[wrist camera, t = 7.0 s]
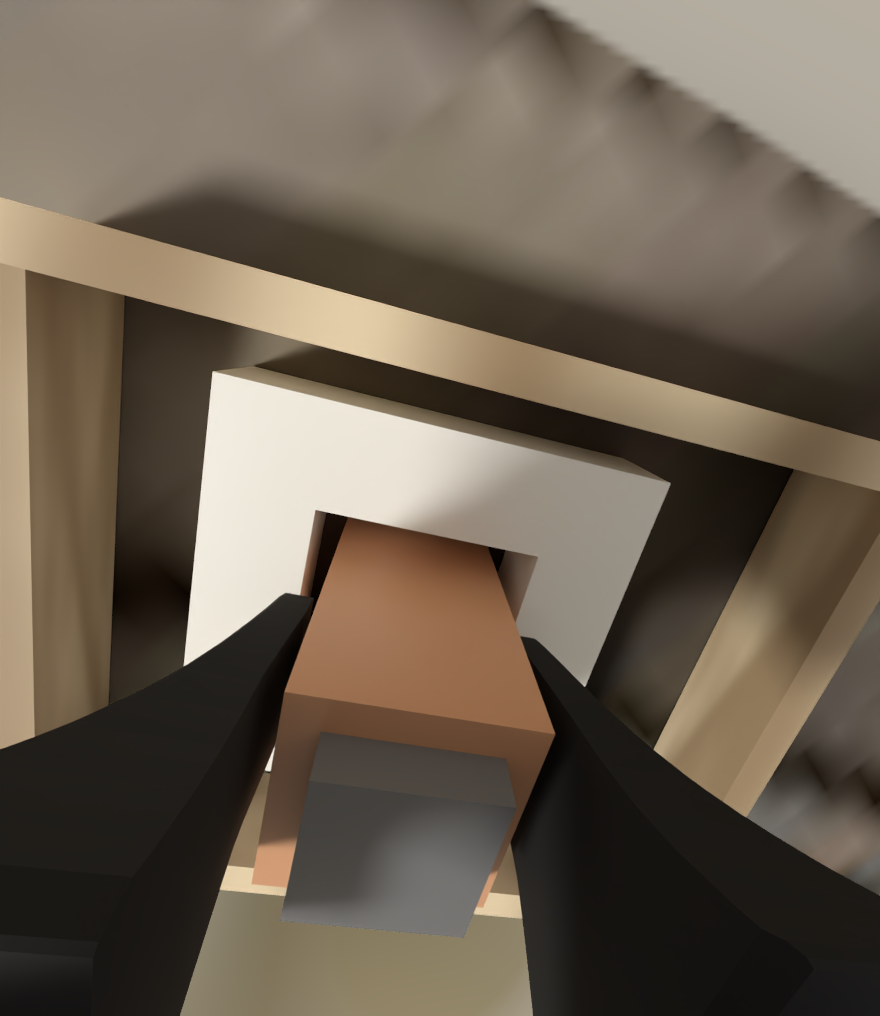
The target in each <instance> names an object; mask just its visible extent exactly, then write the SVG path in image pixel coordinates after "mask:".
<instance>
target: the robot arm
mask: <svg viewBox="0 0 880 1016" xmlns="http://www.w3.org/2000/svg"><path fill="white" fill-rule="evenodd" d="M313 600H314V598H312V597H307V596H301V595H296V594H291V593H284V594H283V595H281V596H279V597H278V598H277V599H276V600H275V601H274V602H272V603H271V604H270V605H269V606H268V607H266V608H265V609H264V610H263V611H262V612H260V613H259V614H258V615H257V616H255V617H254V618H253V619H252V620H250V621H249V622H248V623H246V624H245V625H244V626H242V627H241V628H240V629H238V630H237V631H236V632H234V633H233V634H232V635H230V636H229V637H228V638H226V639H225V640H223V641H222V642H221V643H219V644H218V645H216V646H215V647H213V648H211V649H210V650H208V651H207V652H205V653H204V654H202V655H201V656H199V657H198V658H196V659H195V660H193V661H192V662H190V663H189V664H187V665H185V666H184V667H182V668H180V669H179V670H177V671H175V672H174V673H172V674H170V675H168V676H167V677H165V678H163V679H161V680H159V681H158V682H156V683H154V684H152V685H150V686H148V687H147V688H145V689H143V690H141V691H139V692H137V693H135V694H133V695H131V696H128V697H126V698H124V699H122V700H120V701H117V702H115V703H113V704H111V705H109V706H106V707H104V708H102V709H100V710H98V711H95V712H93V713H91V714H89V715H87V716H84V717H82V718H80V719H78V720H75V721H73V722H71V723H68V724H66V725H63V726H61V727H58V728H56V729H53V730H51V731H48V732H45V733H43V734H40V735H38V736H35V737H33V738H30V739H27V740H24V741H22V742H19V743H16V744H14V745H11V746H8V747H5V748H3V749H0V1016H180V1013H181V1009H182V1007H183V1004H184V1000H185V997H186V994H187V991H188V988H189V984H190V981H191V978H192V975H193V971H194V968H195V965H196V962H197V959H198V956H199V953H200V950H201V947H202V943H203V940H204V937H205V934H206V931H207V928H208V925H209V921H210V918H211V915H212V912H213V909H214V906H215V903H216V899H217V896H218V893H219V890H220V887H221V884H222V881H223V878H224V875H225V872H226V869H227V866H228V863H229V859H230V856H231V853H232V850H233V847H234V845H235V842H236V839H237V837H238V834H239V831H240V829H241V826H242V823H243V821H244V818H245V816H246V814H247V811H248V809H249V806H250V804H251V802H252V799H253V797H254V795H255V792H256V790H257V787H258V785H259V783H260V780H261V778H262V775H263V773H264V771H265V768H266V766H267V764H268V761H269V759H270V756H271V754H272V752H273V749H274V747H275V744H276V738H277V732H278V726H279V720H280V714H281V709H282V703H283V697H284V692H285V689H286V686H287V683H288V681H289V678H290V675H291V672H292V670H293V667H294V664H295V661H296V659H297V656H298V653H299V650H300V648H301V645H302V642H303V639H304V637H305V634H306V631H307V628H308V626H309V621H310V616H311V610H312V605H313ZM520 638H521V640H522V643H523V646H524V649H525V651H526V654H527V657H528V660H529V663H530V665H531V668H532V671H533V674H534V676H535V679H536V682H537V685H538V687H539V690H540V693H541V696H542V699H543V701H544V704H545V707H546V710H547V712H548V715H549V718H550V721H551V723H552V726H553V729H554V732H555V736H554V739H553V741H552V743H551V746H550V748H549V751H548V753H547V755H546V758H545V760H544V763H543V765H542V767H541V770H540V772H539V775H538V777H537V779H536V782H535V784H534V787H533V789H532V791H531V794H530V796H529V799H528V801H527V803H526V806H525V808H524V811H523V813H522V815H521V818H520V820H519V823H518V825H517V827H516V830H515V832H514V835H513V837H512V839H511V842H510V844H511V849H512V853H513V858H514V864H515V869H516V875H517V881H518V889H519V896H520V904H521V912H522V919H523V927H524V935H525V944H526V953H527V962H528V971H529V980H530V990H531V999H532V1008H533V1016H880V896H879V895H877V894H875V893H874V892H872V891H870V890H868V889H866V888H864V887H863V886H861V885H859V884H857V883H855V882H853V881H851V880H850V879H848V878H846V877H844V876H842V875H840V874H839V873H837V872H835V871H833V870H831V869H829V868H828V867H826V866H824V865H822V864H821V863H819V862H817V861H815V860H814V859H812V858H810V857H809V856H807V855H806V854H804V853H802V852H801V851H799V850H797V849H796V848H794V847H792V846H791V845H789V844H787V843H786V842H784V841H782V840H781V839H779V838H777V837H776V836H774V835H772V834H771V833H769V832H768V831H766V830H765V829H763V828H762V827H760V826H758V825H757V824H755V823H754V822H752V821H751V820H749V819H748V818H746V817H744V816H743V815H741V814H740V813H739V812H737V811H736V810H734V809H733V808H731V807H730V806H728V805H727V804H726V803H724V802H723V801H721V800H720V799H718V798H717V797H715V796H714V795H712V794H711V793H710V792H708V791H707V790H705V789H704V788H703V787H701V786H700V785H698V784H697V783H696V782H694V781H693V780H692V779H690V778H689V777H688V776H686V775H685V774H684V773H682V772H681V771H680V770H679V769H677V768H676V767H675V766H673V765H672V764H671V763H670V762H668V761H667V760H666V759H665V758H663V757H662V756H661V755H659V754H658V753H657V752H656V751H654V750H653V749H652V748H651V747H650V746H648V745H647V744H646V743H645V742H644V741H642V740H641V739H640V738H639V737H638V736H637V735H636V734H634V733H633V732H632V731H631V730H630V729H629V728H628V727H627V726H626V725H624V724H623V723H622V722H621V721H620V720H619V719H618V718H617V717H616V716H614V715H613V714H612V713H611V712H610V711H609V710H608V709H607V708H606V707H605V706H604V705H603V704H602V703H601V702H600V701H599V700H598V699H596V698H595V697H594V696H593V695H592V694H591V693H590V692H589V691H588V690H587V689H586V688H585V687H584V686H583V685H582V684H581V683H580V682H579V681H578V680H577V679H576V678H575V677H574V676H573V675H572V674H571V673H570V672H569V671H568V670H567V669H566V668H565V667H564V666H563V665H562V664H561V663H560V662H559V661H558V660H557V659H556V658H555V657H554V656H553V655H552V654H551V653H550V652H549V651H548V650H547V649H546V648H545V647H544V646H543V645H542V644H541V643H540V642H538V641H537V640H536V639H534V638H529V637H523V636H520Z"/></svg>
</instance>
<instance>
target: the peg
mask: <svg viewBox="0 0 880 1016" xmlns="http://www.w3.org/2000/svg"><path fill="white" fill-rule="evenodd" d="M554 736H555V732H554V729H553V726H552V723H551V721H550V718H549V715H548V712H547V710H546V707H545V704H544V701H543V699H542V696H541V693H540V690H539V687H538V685H537V682H536V679H535V676H534V674H533V671H532V668H531V665H530V663H529V660H528V657H527V654H526V651H525V649H524V646H523V643H522V640H521V638H520V635H519V632H518V629H517V627H516V624H515V621H514V618H513V616H512V613H511V610H510V607H509V604H508V602H507V599H506V596H505V593H504V591H503V588H502V585H501V582H500V580H499V577H498V574H497V571H496V568H495V566H494V563H493V560H492V557H491V555H490V552H489V549H488V546H484V545H480V544H475V543H470V542H465V541H461V540H456V539H451V538H447V537H442V536H437V535H432V534H428V533H423V532H418V531H413V530H409V529H404V528H399V527H394V526H390V525H385V524H380V523H375V522H371V521H366V520H361V519H356V518H352V517H348V519H347V521H346V524H345V527H344V530H343V532H342V535H341V538H340V541H339V543H338V546H337V549H336V552H335V554H334V557H333V560H332V563H331V565H330V568H329V571H328V574H327V576H326V579H325V582H324V585H323V587H322V590H321V593H320V596H319V598H318V601H317V604H316V607H315V609H314V612H313V615H312V617H311V620H310V623H309V626H308V628H307V631H306V634H305V637H304V639H303V642H302V645H301V648H300V650H299V653H298V656H297V659H296V661H295V664H294V667H293V670H292V672H291V675H290V678H289V681H288V683H287V686H286V689H285V692H284V697H283V703H282V709H281V714H280V720H279V726H278V732H277V738H276V744H275V749H274V755H273V761H272V767H271V773H270V779H269V784H268V790H267V796H266V802H265V808H264V814H263V819H262V825H261V831H260V837H259V843H258V848H257V854H256V860H255V866H254V872H253V878H252V883H251V884H255V885H265V886H274V887H284V888H287V890H286V895H285V900H284V905H283V910H282V914H281V919H280V921H290V922H300V923H310V924H321V925H332V926H343V927H354V928H364V929H376V930H386V931H398V932H408V933H419V934H429V935H442V936H451V937H462V938H464V935H465V933H466V931H467V928H468V926H469V923H470V921H471V918H472V916H473V914H474V911H475V909H476V907H481V908H483V907H484V904H485V902H486V900H487V897H488V895H489V892H490V890H491V888H492V885H493V883H494V880H495V878H496V876H497V873H498V871H499V868H500V866H501V864H502V861H503V859H504V856H505V854H506V851H507V849H508V847H509V844H510V842H511V839H512V837H513V835H514V832H515V830H516V827H517V825H518V823H519V820H520V818H521V815H522V813H523V811H524V808H525V806H526V803H527V801H528V799H529V796H530V794H531V791H532V789H533V787H534V784H535V782H536V779H537V777H538V775H539V772H540V770H541V767H542V765H543V763H544V760H545V758H546V755H547V753H548V751H549V748H550V746H551V743H552V741H553V739H554Z"/></svg>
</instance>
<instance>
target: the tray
mask: <svg viewBox="0 0 880 1016" xmlns="http://www.w3.org/2000/svg"><path fill="white" fill-rule="evenodd" d="M125 295H126V296H130V297H134V298H137V299H141V300H145V301H149V302H153V303H157V304H161V305H164V306H168V307H172V308H176V309H180V310H184V311H187V312H191V313H195V314H199V315H203V316H207V317H211V318H214V319H218V320H222V321H226V322H230V323H234V324H238V325H241V326H245V327H249V328H253V329H257V330H261V331H264V332H268V333H272V334H276V335H280V336H284V337H288V338H291V339H295V340H299V341H303V342H307V343H311V344H315V345H318V346H322V347H326V348H330V349H334V350H338V351H341V352H345V353H349V354H353V355H357V356H361V357H365V358H368V359H372V360H376V361H380V362H384V363H388V364H392V365H395V366H399V367H403V368H407V369H411V370H415V371H418V372H422V373H426V374H430V375H434V376H438V377H442V378H445V379H449V380H453V381H457V382H461V383H465V384H469V385H472V386H476V387H480V388H484V389H488V390H492V391H495V392H499V393H503V394H507V395H511V396H515V397H519V398H522V399H526V400H530V401H534V402H538V403H542V404H546V405H549V406H553V407H557V408H561V409H565V410H569V411H573V412H576V413H580V414H584V415H588V416H592V417H596V418H599V419H603V420H607V421H611V422H615V423H619V424H623V425H626V426H630V427H634V428H638V429H642V430H646V431H650V432H653V433H657V434H661V435H665V436H669V437H673V438H676V439H680V440H684V441H688V442H692V443H696V444H700V445H703V446H707V447H711V448H715V449H719V450H723V451H727V452H730V453H734V454H738V455H742V456H746V457H750V458H753V459H757V460H761V461H765V462H769V463H773V464H777V465H780V466H784V467H788V468H792V469H794V470H793V472H792V474H791V476H790V478H789V480H788V482H787V484H786V486H785V488H784V490H783V492H782V494H781V496H780V498H779V500H778V502H777V504H776V506H775V508H774V510H773V512H772V514H771V516H770V518H769V520H768V522H767V524H766V526H765V528H764V530H763V532H762V534H761V536H760V538H759V540H758V542H757V544H756V546H755V548H754V550H753V552H752V554H751V556H750V558H749V560H748V562H747V564H746V566H745V568H744V570H743V572H742V574H741V576H740V578H739V580H738V582H737V584H736V586H735V588H734V590H733V592H732V594H731V596H730V598H729V600H728V602H727V604H726V606H725V608H724V610H723V612H722V614H721V616H720V618H719V620H718V622H717V624H716V626H715V628H714V630H713V632H712V634H711V636H710V638H709V640H708V642H707V644H706V646H705V648H704V650H703V652H702V654H701V656H700V658H699V660H698V662H697V664H696V666H695V668H694V670H693V672H692V674H691V676H690V678H689V680H688V682H687V684H686V686H685V688H684V690H683V692H682V694H681V696H680V698H679V700H678V702H677V704H676V706H675V708H674V710H673V712H672V714H671V716H670V718H669V720H668V722H667V724H666V726H665V728H664V730H663V732H662V734H661V736H660V738H659V740H658V742H657V744H656V746H655V748H654V751H656V752H657V753H658V754H659V755H661V756H662V757H663V758H665V759H666V760H667V761H668V762H670V763H671V764H672V765H673V766H675V767H676V768H677V769H679V770H680V771H681V772H682V773H684V774H685V775H686V776H688V777H689V778H690V779H692V780H693V781H694V782H696V783H697V784H698V785H700V786H701V787H703V788H704V789H705V790H707V791H708V792H710V793H711V794H712V795H714V796H715V797H717V798H718V799H720V800H721V801H723V802H724V803H726V804H727V805H728V806H730V807H731V808H733V809H734V810H736V811H737V812H739V813H740V814H741V815H743V816H744V817H747V815H748V814H749V812H750V810H751V809H752V807H753V805H754V804H755V802H756V801H757V799H758V797H759V796H760V794H761V792H762V791H763V789H764V788H765V786H766V784H767V783H768V781H769V779H770V778H771V776H772V774H773V773H774V771H775V770H776V768H777V766H778V765H779V763H780V761H781V760H782V758H783V757H784V755H785V753H786V752H787V750H788V748H789V747H790V745H791V744H792V742H793V740H794V739H795V737H796V735H797V734H798V732H799V731H800V729H801V727H802V726H803V724H804V722H805V721H806V719H807V718H808V716H809V714H810V713H811V711H812V709H813V708H814V706H815V705H816V703H817V701H818V700H819V698H820V696H821V695H822V693H823V691H824V690H825V688H826V687H827V685H828V683H829V682H830V680H831V678H832V677H833V675H834V674H835V672H836V670H837V669H838V667H839V665H840V664H841V662H842V661H843V659H844V657H845V656H846V654H847V652H848V651H849V649H850V648H851V646H852V644H853V643H854V641H855V639H856V638H857V636H858V635H859V633H860V631H861V630H862V628H863V626H864V625H865V623H866V621H867V620H868V618H869V617H870V615H871V613H872V612H873V610H874V608H875V607H876V605H877V604H878V602H879V600H880V441H877V440H873V439H869V438H866V437H862V436H859V435H855V434H851V433H848V432H844V431H841V430H837V429H833V428H830V427H826V426H823V425H819V424H815V423H812V422H808V421H805V420H801V419H797V418H794V417H790V416H786V415H783V414H779V413H776V412H772V411H768V410H765V409H761V408H758V407H754V406H750V405H747V404H743V403H740V402H736V401H732V400H729V399H725V398H722V397H718V396H714V395H711V394H707V393H704V392H700V391H696V390H693V389H689V388H686V387H682V386H678V385H675V384H671V383H668V382H664V381H660V380H657V379H653V378H650V377H646V376H642V375H639V374H635V373H632V372H628V371H624V370H621V369H617V368H613V367H610V366H606V365H603V364H599V363H595V362H592V361H588V360H585V359H581V358H577V357H574V356H570V355H567V354H563V353H559V352H556V351H552V350H549V349H545V348H541V347H538V346H534V345H531V344H527V343H523V342H520V341H516V340H513V339H509V338H505V337H502V336H498V335H495V334H491V333H487V332H484V331H480V330H477V329H473V328H469V327H466V326H462V325H458V324H455V323H451V322H448V321H444V320H440V319H437V318H433V317H430V316H426V315H422V314H419V313H415V312H412V311H408V310H404V309H401V308H397V307H394V306H390V305H386V304H383V303H379V302H376V301H372V300H368V299H365V298H361V297H358V296H354V295H350V294H347V293H343V292H340V291H336V290H332V289H329V288H325V287H322V286H318V285H314V284H311V283H307V282H304V281H300V280H296V279H293V278H289V277H285V276H282V275H278V274H275V273H271V272H267V271H264V270H260V269H257V268H253V267H249V266H246V265H242V264H239V263H235V262H231V261H228V260H224V259H221V258H217V257H213V256H210V255H206V254H203V253H199V252H195V251H192V250H188V249H185V248H181V247H177V246H174V245H170V244H167V243H163V242H159V241H156V240H152V239H149V238H145V237H141V236H138V235H134V234H131V233H127V232H123V231H120V230H116V229H112V228H109V227H105V226H102V225H98V224H94V223H91V222H87V221H84V220H80V219H76V218H73V217H69V216H66V215H62V214H58V213H55V212H51V211H48V210H44V209H40V208H37V207H33V206H30V205H26V204H22V203H19V202H15V201H12V200H8V199H4V198H1V197H0V749H3V748H5V747H8V746H11V745H14V744H16V743H19V742H22V741H24V740H27V739H30V738H33V737H35V736H38V735H40V734H43V733H45V732H48V731H51V730H53V729H56V728H58V727H61V726H63V725H66V724H68V723H71V722H73V721H75V720H78V719H80V718H82V717H84V716H87V715H89V714H91V713H93V712H95V711H98V710H100V709H102V708H104V707H106V706H108V704H109V679H110V654H111V629H112V604H113V580H114V555H115V530H116V505H117V480H118V455H119V430H120V405H121V380H122V355H123V330H124V305H125ZM670 484H671V483H669V482H667V481H665V480H664V479H662V478H660V477H658V476H656V475H654V474H652V473H650V472H648V471H646V470H644V469H643V468H641V467H639V466H637V465H635V464H633V463H631V462H629V461H627V460H625V459H624V458H620V457H616V456H612V455H608V454H604V453H600V452H596V451H592V450H588V449H584V448H580V447H576V446H572V445H568V444H564V443H560V442H556V441H552V440H548V439H544V438H540V437H536V436H532V435H528V434H524V433H520V432H516V431H511V430H507V429H503V428H499V427H495V426H491V425H487V424H483V423H479V422H475V421H471V420H467V419H463V418H459V417H455V416H451V415H447V414H443V413H439V412H435V411H431V410H427V409H423V408H419V407H415V406H411V405H407V404H403V403H399V402H395V401H391V400H387V399H383V398H379V397H375V396H371V395H367V394H363V393H359V392H355V391H351V390H347V389H343V388H339V387H335V386H331V385H327V384H323V383H319V382H315V381H311V380H307V379H302V378H298V377H294V376H290V375H286V374H282V373H278V372H274V371H270V370H266V369H262V368H258V367H254V366H249V367H242V368H234V369H227V370H219V371H213V373H212V384H211V394H210V404H209V414H208V424H207V434H206V445H205V455H204V465H203V475H202V485H201V496H200V506H199V516H198V526H197V536H196V546H195V557H194V567H193V577H192V587H191V597H190V608H189V618H188V628H187V638H186V648H185V658H184V666H185V665H187V664H189V663H190V662H192V661H193V660H195V659H196V658H198V657H199V656H201V655H202V654H204V653H205V652H207V651H208V650H210V649H211V648H213V647H215V646H216V645H218V644H219V643H221V642H222V641H223V640H225V639H226V638H228V637H229V636H230V635H232V634H233V633H234V632H236V631H237V630H238V629H240V628H241V627H242V626H244V625H245V624H246V623H248V622H249V621H250V620H252V619H253V618H254V617H255V616H257V615H258V614H259V613H260V612H262V611H263V610H264V609H265V608H266V607H268V606H269V605H270V604H271V603H272V602H274V601H275V600H276V599H277V598H278V597H279V596H281V595H283V594H284V593H291V594H296V595H301V596H307V597H311V592H312V587H313V581H314V576H315V571H316V565H317V560H318V555H319V549H320V544H321V539H322V533H323V528H324V523H325V517H326V512H328V513H333V514H337V515H342V516H347V517H352V518H356V519H361V520H366V521H371V522H375V523H380V524H385V525H390V526H394V527H399V528H404V529H409V530H413V531H418V532H423V533H428V534H432V535H437V536H442V537H447V538H451V539H456V540H461V541H465V542H470V543H475V544H480V545H484V546H489V547H494V548H499V549H503V550H505V553H504V556H503V559H502V562H501V566H500V569H499V572H498V577H499V580H500V582H501V585H502V588H503V591H504V593H505V596H506V599H507V602H508V604H509V607H510V610H511V613H512V616H513V618H514V621H515V624H516V627H517V629H518V632H519V635H520V636H523V637H529V638H534V639H536V640H537V641H538V642H540V643H541V644H542V645H543V646H544V647H545V648H546V649H547V650H548V651H549V652H550V653H551V654H552V655H553V656H554V657H555V658H556V659H557V660H558V661H559V662H560V663H561V664H562V665H563V666H564V667H565V668H566V669H567V670H568V671H569V672H570V673H571V674H572V675H573V676H574V677H575V678H576V679H577V680H578V681H579V682H580V683H581V684H582V685H583V686H584V687H585V686H586V684H587V681H588V679H589V677H590V674H591V672H592V669H593V667H594V665H595V662H596V660H597V658H598V655H599V653H600V650H601V648H602V646H603V643H604V641H605V639H606V636H607V634H608V631H609V629H610V627H611V624H612V622H613V620H614V617H615V615H616V613H617V610H618V608H619V605H620V603H621V601H622V598H623V596H624V594H625V591H626V589H627V586H628V584H629V582H630V579H631V577H632V575H633V572H634V570H635V567H636V565H637V563H638V560H639V558H640V556H641V553H642V551H643V548H644V546H645V544H646V541H647V539H648V537H649V534H650V532H651V529H652V527H653V525H654V522H655V520H656V518H657V515H658V513H659V510H660V508H661V506H662V503H663V501H664V499H665V496H666V494H667V491H668V489H669V487H670ZM274 749H275V747H274ZM274 749H273V752H272V754H271V756H270V759H269V761H268V764H267V766H266V768H265V771H271V767H272V761H273V755H274ZM269 779H270V773H263V775H262V778H261V780H260V783H259V785H258V787H257V790H256V792H255V795H254V797H253V799H252V802H251V804H250V806H249V809H248V811H247V814H246V816H245V818H244V821H243V823H242V826H241V829H240V831H239V834H238V837H237V839H236V842H235V845H234V847H233V850H232V853H231V856H230V859H229V863H228V866H227V869H226V872H225V875H224V878H223V881H222V884H221V887H220V890H229V891H239V892H251V893H260V894H271V895H281V896H285V895H286V890H287V888H284V887H274V886H265V885H255V884H251V883H252V878H253V872H254V866H255V860H256V854H257V848H258V843H259V837H260V831H261V825H262V819H263V814H264V808H265V802H266V796H267V790H268V784H269ZM474 914H479V915H490V916H500V917H510V918H521V919H522V912H521V904H520V896H519V889H518V881H517V875H516V869H515V864H514V858H513V853H512V849H511V844H509V847H508V849H507V851H506V854H505V856H504V859H503V861H502V864H501V866H500V868H499V871H498V873H497V876H496V878H495V880H494V883H493V885H492V888H491V890H490V892H489V895H488V897H487V900H486V902H485V904H484V907H483V908H481V907H476V909H475V911H474Z"/></svg>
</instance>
